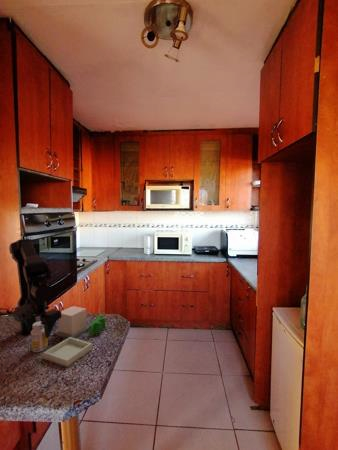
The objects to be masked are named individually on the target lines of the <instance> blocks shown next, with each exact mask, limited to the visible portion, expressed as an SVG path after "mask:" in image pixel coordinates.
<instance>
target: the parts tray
mask: <svg viewBox="0 0 338 450" xmlns="http://www.w3.org/2000/svg"><path fill="white" fill-rule="evenodd" d="M92 350H94V349H93V343H92V342H88V341H85V340H81V339H79V338H78V339H77V338H72V337H69V338H65V339H64V340H63V341H61V342H59V343H57V344H55V345H54V346H52V347H50V348H49V349H47V350H44V352H43V353H42V354H43V360H46V361H49V362H52V363H54V364H57V365H60V366H63V367H66V368H68V367H70V366H71V365H72V364H74V363H75V362H76V361H78V360H80V359H81V358H83V357H84V356H85V355H86V354H88V353H89V352H90V351H92Z"/></svg>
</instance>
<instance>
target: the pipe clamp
mask: <svg viewBox="0 0 338 450" xmlns="http://www.w3.org/2000/svg"><path fill="white" fill-rule="evenodd" d="M106 324H107V323H106V317H103V314H99V315H98V316H97V317H96V318H95V319H94V320H93V321H92V323H90V324H89V325H90V326H89V330H88V334H89V335H88V336H89V337H93V336H94V335H95V334H102V333H103V332H102V329H106V328H107V327H106Z"/></svg>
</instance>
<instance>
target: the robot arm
mask: <svg viewBox="0 0 338 450" xmlns="http://www.w3.org/2000/svg"><path fill="white" fill-rule="evenodd" d="M8 250H9V254H11V258H12V260H13V261H14V262H15V263H16V266H17V275H18V283H19V284H18V285H19V293H20V297H19V298H18V301H17V303H16V305H17V306H16V307H15V310H14V311H12V313H11V315H12V318H13V319H14V321H16V322H18V323H19V328H20V330H17V331H16V334H18V335H19V334H20V335H23V336H25V337H26V336H28V335H31V331H32V330H33V324H34V323H36V322H37V317H39V321H41V323H40V324H42V325H44V331H45V337H46V338H47V339H48V338H49V337H51V336H50V335H51V334H52V331H53V328H54V327H55V325H56V323H57V321H58V320H59V318H61V311H62V310H61V311H60V310H58V309H55V308H52V309H50V306H49V305H47V301H49V300H50V299H51V298H52V297H53V295H54V289H53V287H52V286H51V285H49V284H48V282H47V281H49V280H52V279H51V278H52V272H51V269H50V266H49V265H48V262H46V260H45V259H44V258H43V257H41V256H39V255H38V254H37V252H36V249H35V247H34V243H33V240H32V239H30V238H21V239H17V240H16V241H14V242H12V243H10V245H9V246H8Z"/></svg>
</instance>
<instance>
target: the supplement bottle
mask: <svg viewBox="0 0 338 450" xmlns="http://www.w3.org/2000/svg"><path fill="white" fill-rule="evenodd" d="M40 323H41V320H39V321H36V323H34V324H33V330H32V331H31V334H30V340H31V342H30V343H31V352H33V353H40V352H42V351H46V349H48V345H49V344H48V341H49V340H48V338H46V337H45V331H44V325H42V324H40Z"/></svg>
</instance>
